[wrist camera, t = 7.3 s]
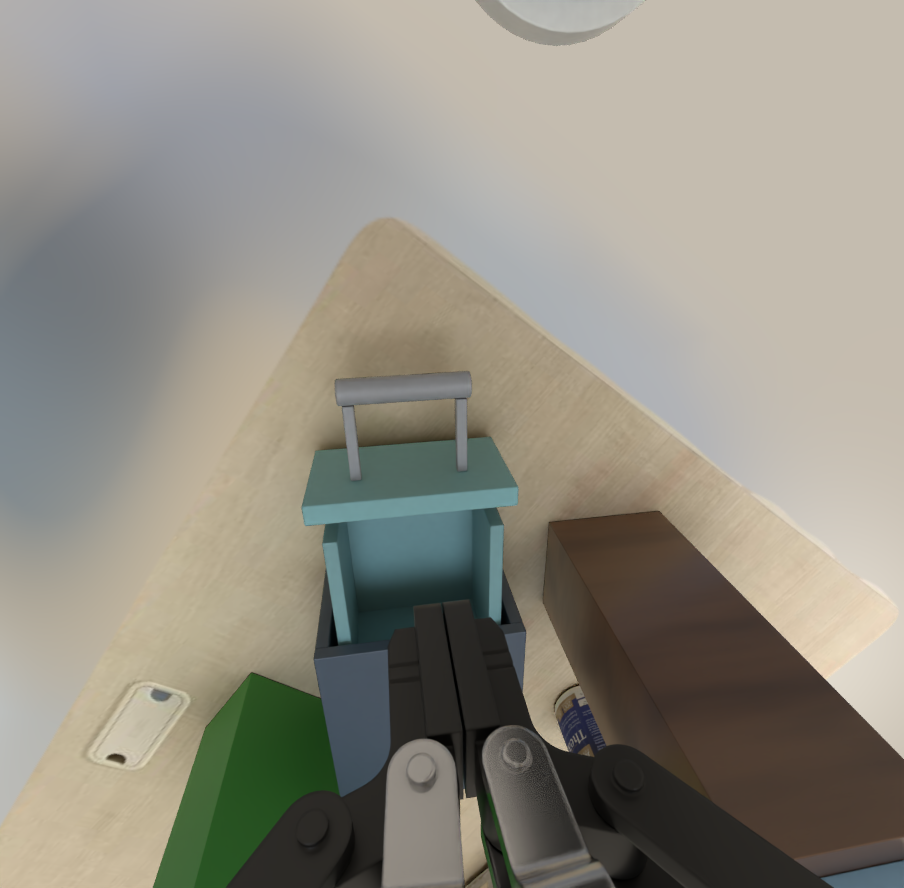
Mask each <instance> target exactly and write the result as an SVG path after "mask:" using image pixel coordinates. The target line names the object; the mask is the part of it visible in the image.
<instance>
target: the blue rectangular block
mask: <svg viewBox="0 0 904 888" xmlns="http://www.w3.org/2000/svg"><path fill="white" fill-rule="evenodd" d="M821 879H822V880H824V881H825V882H826V883H828V884H829V885H831V886H832V887H834V888H904V860H901V861H896V862H892V863H887V864H882V865H878V866H873V867H868V868H864V869H859V870H854V871H850V872H845V873H840V874H836V875H831V876H826V877H822V878H821Z"/></svg>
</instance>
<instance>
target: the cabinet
mask: <svg viewBox="0 0 904 888" xmlns="http://www.w3.org/2000/svg"><path fill="white" fill-rule="evenodd" d="M325 572H326V573H325V580H324V587H323V595H322V602H321V610H320V617H319V625H318V632H317V640H316V647H315V653H314V664H315V669H316V674H317V680H318V685H319V690H320V695H321V700H322V705H323V711H324V716H325V721H326V726H327V731H328V737H329V742H330V747H331V752H332V757H333V762H334V768H335V773H336V778H337V783H338V788H339V793H340V796H341V797H343V796H345V795H347V794H349V793H351V792H352V791H354V790H356V789H358V788H360V787H362V786H363V785H365V784H367V783H368V782H370V781H371V780H372V779H373V778H374V777H375V776H376V775H377V774H378V773H379V772H380V770H381V769H382V768H383V766H384V764H385V762H386V760H387V758H388V755H389V751H390V742H391V740H390V709H389V679H388V648H387V646H388V644H389V642H390V640H382V641H374V642H366V643H359V644H351V645H343V646H339V645H338V639H337V633H336V626H335V620H334V614H333V608H332V601H331V595H330V589H329V583H328V577H327V570H326V571H325ZM498 626H499V627H500V628H501V629H502V630H503V632H504V635H505V638H506V641H507V645H508V648H509V652H510V654H511V657H512V661H513V665H514V667H515V670H516V673H517V677H518V680H519V683H520V686H521V689H522V692H523V676H524V659H525V643H526V630H525V627H524V625H523V623H522V619H521V617H520V614H519V611H518V609H517V606H516V603H515V601H514V598H513V595H512V592H511V590H510V587H509V584H508V582H507V579H506V576H505V574H504V571H503V568H502V601H501V625H498ZM463 789H465V787H464V780H463Z"/></svg>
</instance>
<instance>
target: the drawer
mask: <svg viewBox="0 0 904 888" xmlns="http://www.w3.org/2000/svg"><path fill="white" fill-rule="evenodd" d="M471 394H472V380H471V375H470V372H469V371H460V372H444V373H428V374H412V375H395V376H379V377H363V378H346V379H336V380H335V396H336V402H337V405H338V406H342V413H343V421H344V430H345V438H346V446H347V448H344V449H331V450H318V451H315V455H314V459H313V463H312V467H311V471H310V475H309V479H308V483H307V488H306V492H305V496H304V500H303V504H302V513H303V519H304V524H305V526H311V525H321V524H325V530H324V536H323V543H322V545H323V552H324V558H325V564H326V570H327V577H328V583H329V589H330V595H331V601H332V608H333V614H334V620H335V626H336V633H337V639H338V645H339V646H343V645H351V644H359V643H366V642H374V641H382V640H390V639H391V637H392V635H393V633H394V630H395V629H401V628H409V627H415V625H414V610H413V606H417V605H425V604H433V603H440V604H441V609H442V602H449V601H458V600H466V599H469V600H470V603H471V607H472V611H473V615H474V619H480V618H489V617H491V618H492V619H493V620H494V621H495V622H496V624H497V625H501V601H502V568H503V536H504V525H503V522H502V520H501V518H500V515H499V513H498V511H497V508H496V507H505V506H515V505H517V504H518V486H517V484H516V482H515V480H514V478H513V476H512V475H511V473H510V471H509V469H508V467H507V465H506V464H505V462H504V460H503V458H502V456H501V454H500V453H499V451H498V449H497V447H496V445H495V443H494V442H493V440H492V438H491V437H483V438H470V439H467V398H468V397H471ZM453 398H455V440H445V441H432V442H420V443H407V444H394V445H382V446H369V447H359V446H358V437H357V428H356V419H355V410H354V405H365V404H380V403H394V402H409V401H424V400H438V399H453Z"/></svg>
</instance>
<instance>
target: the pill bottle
mask: <svg viewBox="0 0 904 888" xmlns="http://www.w3.org/2000/svg"><path fill="white" fill-rule="evenodd" d="M555 715H556V718H557V721H558V724H559V727H560V729H561V732H562V735H563V738H564V740H565V743H566V746H567V748H568V751H569V752H571V753H576V754H581V755H587V756H592V757H595V755H596V754H597V753H598V751H599V750H601V749H602V748H604V747H606V743H605V741H604V739H603V737H602V734H601V732H600V730H599V728H598V725H597V723H596V721H595V719H594V716H593V714H592V712H591V710H590V708H589V705H588V703H587V701H586V699H585V696H584V694H583V692H582V690H581V687H580V686H577V687H574V688H571V689H569V690H568V691H566V692H565V693H564V694H563V695H562V696H561V697H560V698H559V699H558V700H557V703H556V705H555Z"/></svg>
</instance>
